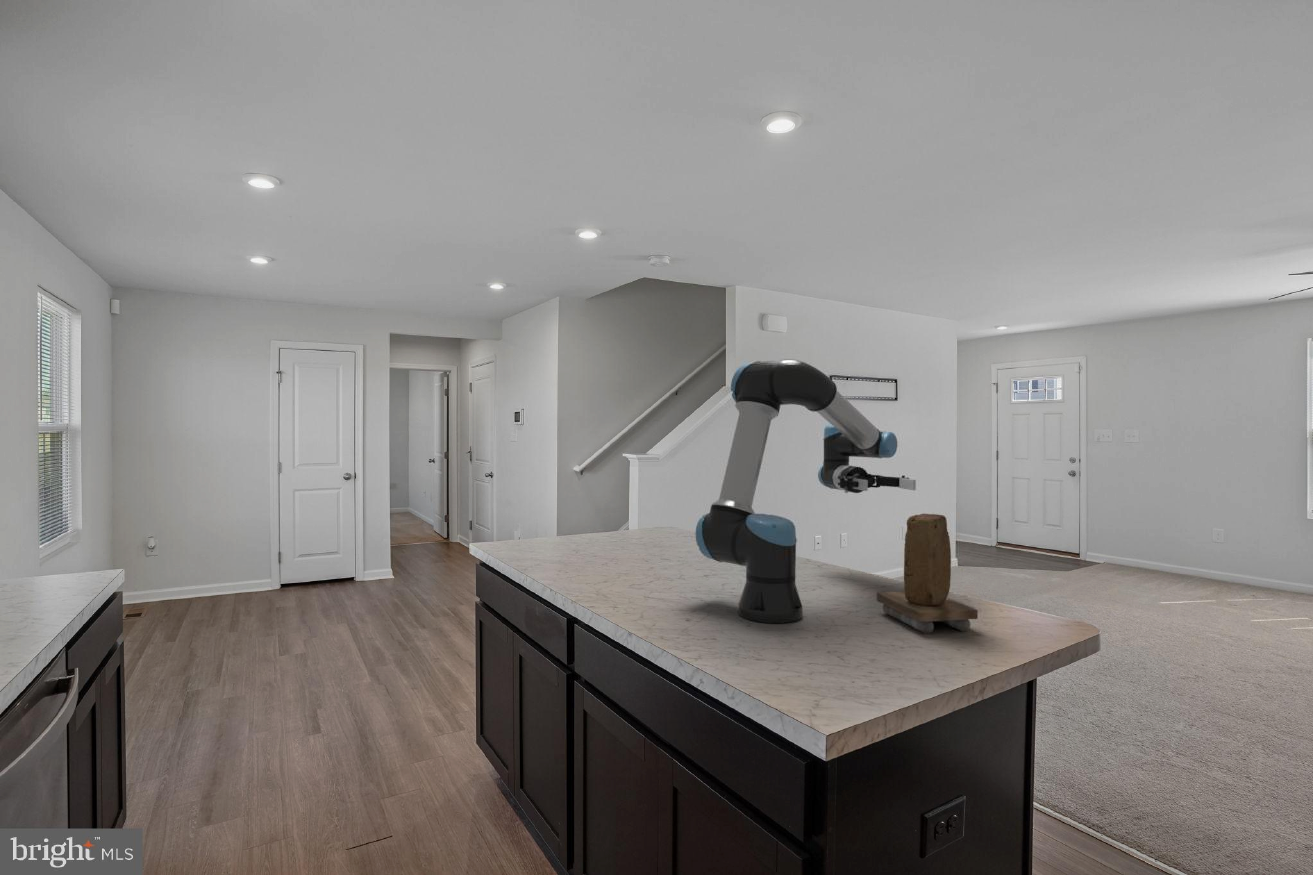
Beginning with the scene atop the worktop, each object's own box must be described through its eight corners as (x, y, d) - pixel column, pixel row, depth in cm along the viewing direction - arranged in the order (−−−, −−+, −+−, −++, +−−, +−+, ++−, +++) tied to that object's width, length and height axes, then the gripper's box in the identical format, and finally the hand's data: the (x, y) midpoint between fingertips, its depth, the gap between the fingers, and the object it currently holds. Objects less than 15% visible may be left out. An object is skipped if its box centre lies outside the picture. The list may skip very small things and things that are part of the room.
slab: (919, 635, 145) (919, 612, 144) (876, 612, 162) (876, 592, 162) (977, 632, 147) (977, 609, 147) (928, 610, 165) (929, 590, 165)
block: (931, 609, 147) (932, 518, 147) (899, 602, 153) (900, 514, 153) (955, 601, 154) (956, 514, 154) (924, 594, 160) (925, 511, 160)
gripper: (890, 491, 196) (933, 499, 175) (810, 492, 191) (845, 500, 171) (890, 465, 196) (934, 470, 175) (810, 466, 191) (845, 471, 171)
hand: (890, 485), depth 173 cm, fingers open, 13 cm apart
